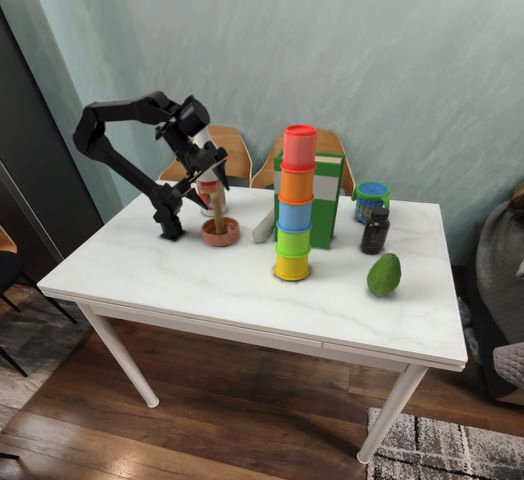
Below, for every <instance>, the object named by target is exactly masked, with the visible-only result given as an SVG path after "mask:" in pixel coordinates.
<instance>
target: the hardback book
mask: <svg viewBox="0 0 524 480" xmlns="http://www.w3.org/2000/svg"><path fill="white" fill-rule="evenodd" d="M346 156H347V155H346V153H338V152H324V151H316V152H315V164H316V169H315V170H314V179H313V191H312V193H313V194H314V200H313V201H312V208H311V222H312V227H311V229H310V236H309V245H310V246H311V248H317V249H323V250H329V249H330V242H331V239H333V238H334V233H335V227H336V221H337V214H338V208H339V200H340V195H341V189H342V188H341V187H342V183H343V181H342V180H343V174H344V169H345V162H346ZM282 162H283V148H281V150H280V151H279V152H278V153H277V154H276V155H275V156H274V157H273V205H274V206H273V208H274V242H278V227H277V221H278V220H279V204H280V200H279V199H278V195H279V193H280V192H281V171H282V169H281V167H280V164H281V163H282Z"/></svg>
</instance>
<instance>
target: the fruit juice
mask: <svg viewBox="0 0 524 480" xmlns="http://www.w3.org/2000/svg"><path fill="white" fill-rule="evenodd" d="M208 140H209V141H212V143H213V144H214V145H215V147H216V149H218V148H219V146H218V145H217V144H216V142H215V141H214V139H213V138H212V136H211V134H210V131H209V125H208V126H206V127H205V128H204V129H203V130H202V131H201V132H199V133H198V134H197V135H196V136H195V137H193V140H192V142H193V144H194V143H196V144H197V145H198V147H199V148H200V149H202V148H203V147H204V144H205V143H206V142H207V141H208ZM212 168H214V167H213V166H211V167H210V168H209V169H208V170H207V171H206V172H204V173H203V174H202V175H201V176H200V177H199V178H198V179H196V180H195V184H196V191H197V194H198V195H199V196H200V198H201V199H202V200H203V201H204V203H205V204H206V205H207V207H208V210H205V209H204V208H202V207H201V206H200V209H201V213H202V214H203V215H205V216H207V217H214V215H213V209H212V203H211V197H210V194H211V193H214V192H217V193H219V194H220V201H221V208H222V214H223V215H224V214H225V213H226V211H227V209H228V208H227V207H228V206H227V199H226V191H225V188H224V186H223V185H222V184H221V182H220V181H219V179H218V178H217V176H216V175H215V174H214V172H213V171H212ZM196 173H197V171H196V172H195V174H196ZM195 174H194V175H195Z"/></svg>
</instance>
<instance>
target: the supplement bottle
mask: <svg viewBox="0 0 524 480" xmlns="http://www.w3.org/2000/svg"><path fill="white" fill-rule="evenodd" d="M390 213H391V211H390V208H389V209H387V208H385V207H384V206H383V207H375V208H373V209H372V213H371V217H370V218H368V219H367V220H366V223H364V227H363V231H362V232H363V233H362V238H361V242H360V250H361V251H362V252H363V253H365V254H367V255H377V254H380V253H382V251H383V249H384V247H385V245H386V241H387V237H388V233H389V230H390V227H391V222H390V220H389V217H390Z"/></svg>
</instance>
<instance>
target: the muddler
mask: <svg viewBox="0 0 524 480" xmlns="http://www.w3.org/2000/svg"><path fill="white" fill-rule="evenodd" d="M210 197H211V203H212V209H213V215H214V216H213V218H214V220H215V226H216V230H215V231H214V235H225V234H228V232H227V230H226V229H225V228H224V221H223V217H224V213H223V214H222V208H221V201H220V194H219V193H217V192H214V193H211V194H210Z"/></svg>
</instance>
